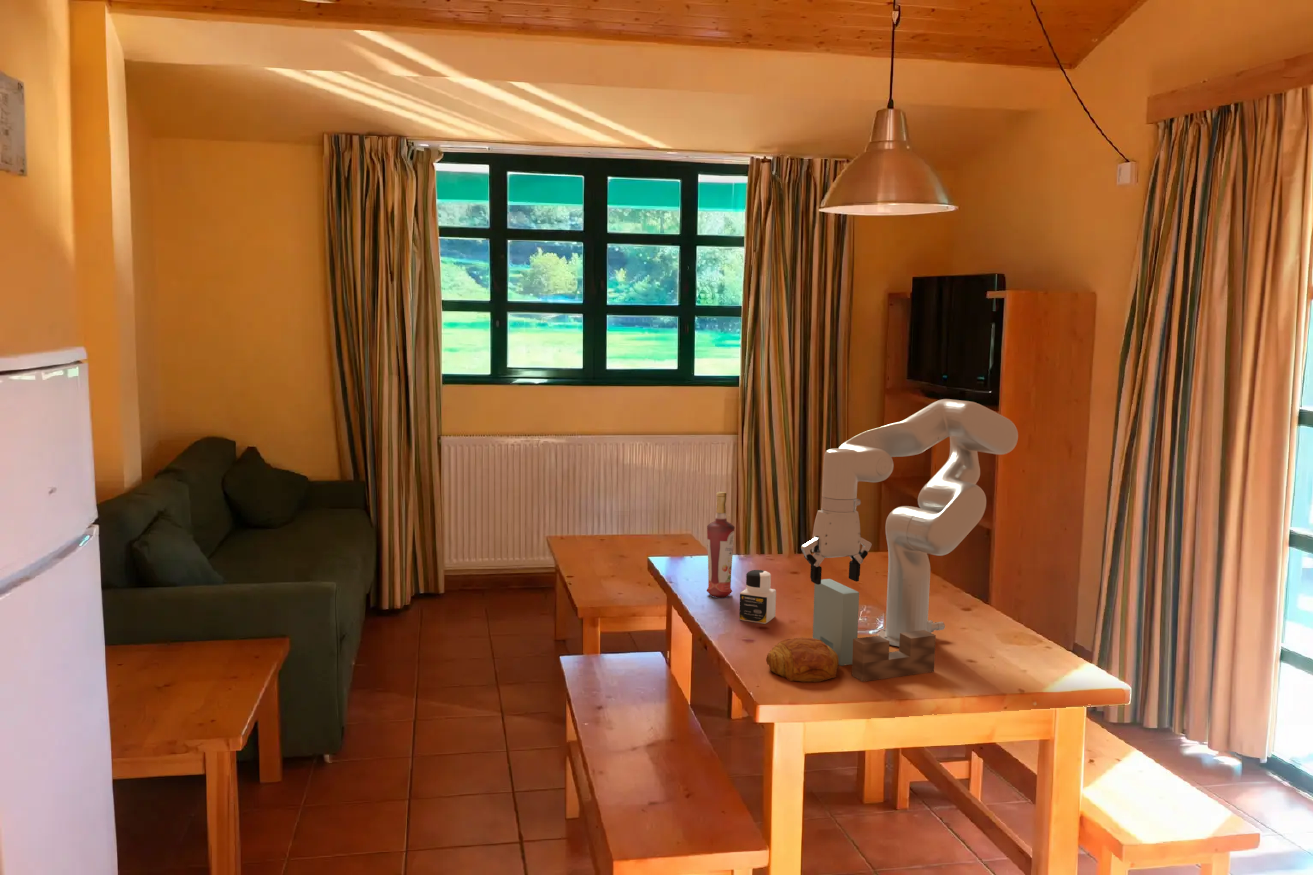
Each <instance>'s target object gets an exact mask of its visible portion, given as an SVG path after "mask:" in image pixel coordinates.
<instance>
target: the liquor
mask: <svg viewBox="0 0 1313 875" xmlns="http://www.w3.org/2000/svg"><path fill="white" fill-rule="evenodd" d="M727 494H728V493H727V492H726V491H717V492H716V495H715V496H716V497H715V498H716V503H717V504H716V511H715V512H716V513H715V520H714V521H712V522H710V523H709V524H708V525H707V526H706V532H707V533H706V538H707V540H706V542H707V560H708V561H707V563H708V564H707V569H708V570H707V573H708V575H707V576H708V577H707V578H708V585H707V589H706V592H707V593H708V594H709V595H710V596H711V597H713V598H716V599H717V598H718V599H719V598H720V599H723V598H728V597H729V595H731V594H732V592H733V590H732V588H731V586H732V567H733V554H734V545H735V544H734V543H735V526H734V525H733V524H732V523H731V522H729V521H727V506H726V503H727Z"/></svg>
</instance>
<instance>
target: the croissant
mask: <svg viewBox="0 0 1313 875" xmlns="http://www.w3.org/2000/svg"><path fill="white" fill-rule="evenodd" d="M765 660H766V664H767V665H768V666H769V667H768V668H769V670H770V671H771V672H772V673H774V674H775V675H779V676H780V677H781V678H782V677H783V678H786V680H787V681H789V682H790V681H791V682H794V681H795V682H801V683H808V682H809V683H811V682H813V683H815V682H816V683H817V682H818V683H819V682H824V681H827V680H829V679H835V678H836V677H837V676H838V675H837V670H838V667H839V658H838V655H837V653H836V652H835V651H834V650H833V649H831V648H830V647H829V646H828V645H826V644H825V643H823V642H822V641H821V640H818V639H814V638H813V637H798V638H797V637H796V638H787V639H786V638H785V639H783V640H781V641H779V642H778V643H776V644H775V645H774V646H773V647H772V648H771V650H770V651H769V652H768V653H767V655H766V658H765Z"/></svg>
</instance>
